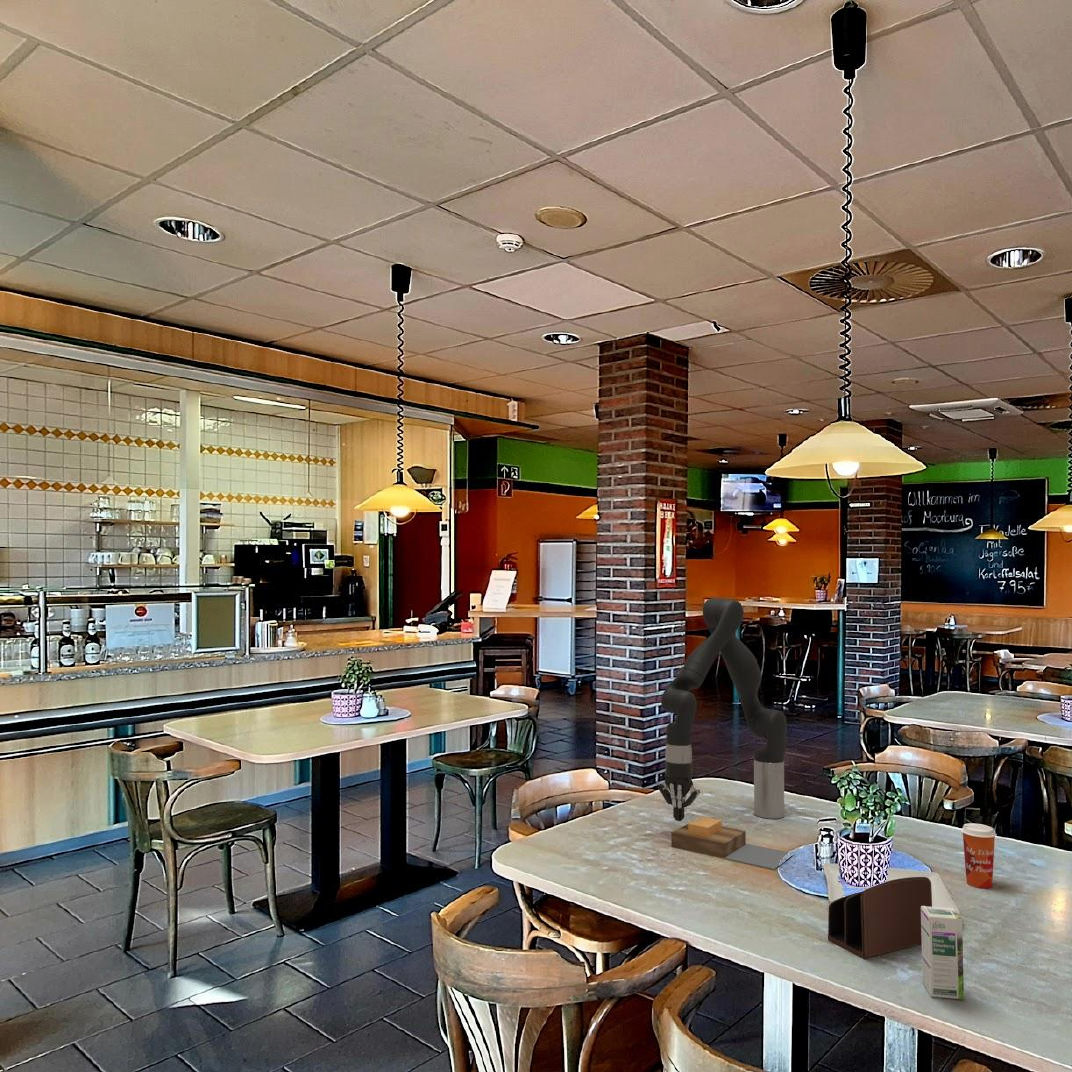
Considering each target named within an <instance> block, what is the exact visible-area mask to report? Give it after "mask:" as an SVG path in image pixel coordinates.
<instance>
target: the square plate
mask: <svg viewBox="0 0 1072 1072" xmlns="http://www.w3.org/2000/svg"><path fill="white" fill-rule="evenodd" d="M838 864H839V863H823V864H822V869H823V872H824V874H825V875H824V876H825V880H826V886H827V898H828V901H829V902H828V903H829V904H831V903H832V902H833V901H835V900H837V899H839V898H842V897H843V895H846V894H844V891H843V890H842V888H844V887H843V886H842V884H841V883H839V882H838V881H840V880H839V879H838V876H840V873H839V869H838ZM888 868H889V869H888V875H887V878H886V880H885V882H887V881H891V880H895V879H901V878H909V877H927V878H929V880H930V881H931V890H932V907H942V908H953V909H954V910H955V911H956V912H957V913H958V914H959V916H961V912H960V910H959V909H958V906H957V905H956V903H955V902H954V900H953V898H952V896H951V894H950V893H949V891H948V890H947V887H946V886H945V883H944V882H943V880H942V877H941V875H940V874H939V873H937V872H934V871H922V870H915V869H905V868H896V867H888ZM871 887H873V886H871ZM847 888H867V889H868V888H870V886H868V887H852V886H849V887H847ZM864 890H865V889H863V891H864Z"/></svg>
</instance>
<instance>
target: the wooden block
mask: <svg viewBox="0 0 1072 1072" xmlns="http://www.w3.org/2000/svg"><path fill="white" fill-rule="evenodd" d="M693 821H694V820H693ZM693 821H690V822H689V823H691V822H693ZM689 823H687V824H685V825H683V826H680V827H679V828H676V829H675V830H673V831H672V832H670V833H671V836H670V837H671V842H670V843H671V844H670V845H671V848H674V849H675V848H676V849H680V850H684V851H689V852H693V853H698V854H702V855H707V856H712V857H716V858H721V859H724V858H725V857H726V856H728V855H730V854H731V853H733V852H734V851H736V850H737V849H739V848H740V847H742V846H744V845H745V844H747V843H746V841H747V838H746V837H747V835H746V834H747V833H746V830H743V829H737V828H732V827H728V826H723V825H722V829H721V830H720V831H718V832H716V833H714V834H713V835H711V836H709V837H706V836H701V835H696V834H692V833H688V824H689Z"/></svg>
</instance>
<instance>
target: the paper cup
mask: <svg viewBox="0 0 1072 1072" xmlns="http://www.w3.org/2000/svg"><path fill="white" fill-rule="evenodd" d="M961 833H962V840H963V841H962V842H963V852H964V854H963V855H964V866H965V878H966V885H968V886H970V887H972V888H976V889H983V890H986V889H987V890H988V889H991V888H992V887H993V882H994V881H993V879H994V877H993V875H994V857H995V839H996V838H995V837H997V835H998V834H997V833H996V830H995V829H994V828H993V827H992V826H988V825H986V824H981V823H975V822H974V823H972V822H971V823H965V824H963V825H962V828H961Z"/></svg>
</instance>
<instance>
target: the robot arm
mask: <svg viewBox="0 0 1072 1072" xmlns="http://www.w3.org/2000/svg"><path fill="white" fill-rule="evenodd" d="M744 611H745V610H744V607H743V605H742V603H741V601H738V600H736V599H734V598H733V599H732V598H723V597H722V598H720V597H719V598H718V597H714V598H713V597H712V598H709V599H708V598H707V600H706V601H705V602H704V604H703V606H702V616H703V620H704V623H705V625H706V627H707V629H708V631H709V632H710V636H708V637H707V638H706V639H705V640H704V641H703V642H702V643H701V644H699V645H698V646H697V647H695V649H694V650H693V651H691V653H689V656H688V657H687V659H686V660H685V662H684V664H683V666H682V668H681V670H680V672H679V673H678V675H677V676H675V677H674V679H673V680H672V681H671V682H670V683H669V684H668V686H667V687H666V688H665V689H664V690H663V693H662V694H661V699H660V705H661V707H662V709H663V710H664V711H665V712H666V713H669V714H673V715H674V714H675V715H676V720H675V721H674V722H673V721H672V722H669V723H668V724H667V725H666V735H665V736H666V737H665V738H666V740H665V741H666V746H665V778H664V782H662V783H660V784H659V785H658V786H657V789H658V791H659V792H660V793H661V795H662V798H664V800H665V802H666V803H667V805H670V806H672V807H673V810H672V811H673V812H672V814H673V815H672V816H673V819H674V821H677V822H682V821H683V820H684V819H685V808H687V807H690V806H691V805H692V803H694V801H695V800H696V799H697V798H698V797H699V795H700V793H701V790H700V789H697V788H696V787H695V786H694V782H693V780H692V777H693V750H692V729H693V724H694V720H695V716H696V712H697V709H698V708H697V707H698V705H697V704H698V703H697V699H696V697H695V695H694V693H692V692H691V691H692V690H695V689H696V690H697V689H699V688H700V687H701V686H702V684H703V682H704V680H705V678H706V676H707V674H708V673H709V671H710V669H711V667H712V665H713V663H714V662H715V660H716V658H717V657H718V656H719V654H721V656H722V659H723V661H724V663H725V665H726V666H725V667H726V669H727V672H728V675H729V676H730V678H731V681H732V683H733V685H734V687H735V691H736V693H737V695H738V698H739V701H740V704H741V707H742V709H743V713H744V718H745V721H746V724H747V727H748V729H749V732H750V733H751V734H752V735H753V736H755V737H758V738H763V739H766V745H765V746H764V747H760V748H757V749H755V750H754V751H753V785H754V786H753V813H754V815H755V816H757V817H759V818H764V819H769V820H770V819H775V820H777V819H781V818H784V817H785V754H786V750H787V749H786V748H787V730H788V729H787V727H788V725H787V723H788V722H787V718H786V716H785V714H784V712H783V711H781V710H776V709H771V708H764V706H762V704H761V702H760V700H759V696H758V692H759V688H760V687H761V682H762V672H761V668H760V666H759V664H758V662H757V659H756V657H755V655H754V654H753V652H752V651H751V650H750V649H749V648H748V647H747V646H746V645H745V644H744V643H743V642H742V641H741V640H740V639H739V638H738V637H737V635H736V634H735V633H736V632H737V630H738V628H739V627H740V626H741V624H742V622H743V619H744V613H745V612H744ZM688 794H689V796H688V797H687V795H688Z"/></svg>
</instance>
